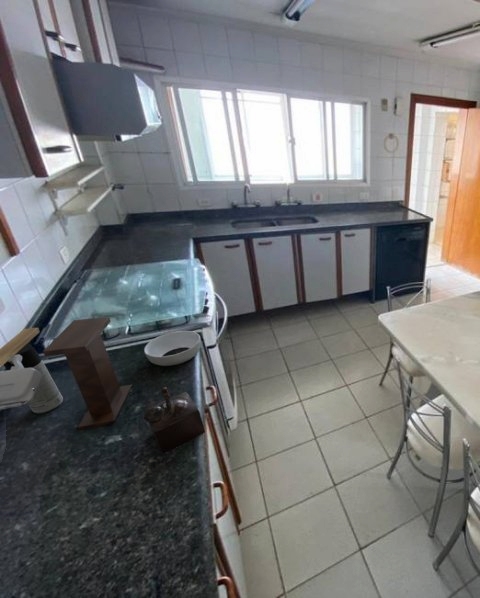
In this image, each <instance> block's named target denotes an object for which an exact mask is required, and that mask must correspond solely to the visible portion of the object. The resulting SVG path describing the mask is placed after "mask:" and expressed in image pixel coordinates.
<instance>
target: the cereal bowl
mask: <svg viewBox="0 0 480 598" xmlns="http://www.w3.org/2000/svg"><path fill="white" fill-rule="evenodd" d="M201 347H202V339H201V336H200V334H199V333H198V332H196V331H193V330H177V331H172V332H171V331H170V332H167V333H163V334H161V335H159V336H157V337H155V338H153V339H152V340H150V341H149V342H148V343H146V345H145V346H144V349H143V351H144V354H145V357H146V358H147V360H148V361H149V362H151V363H152V364H153V365H155V366H162V367H171V366H176V365H180V364H183V363H186V362H188V361H190V360H191V359H192V358H194V357H195V356H196V355H198V353H199V351H200V350H201ZM181 348H182V349H183V348H187V349H186V350H184V351H181V352H179V353H175V354H171V355H166V354H167V353H168V352H171V351H173V350H176V349H181ZM164 355H165V356H164Z"/></svg>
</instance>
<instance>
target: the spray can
mask: <svg viewBox="0 0 480 598" xmlns="http://www.w3.org/2000/svg"><path fill="white" fill-rule="evenodd" d="M18 354H19V355H21V356H22V361H21V364H22V365H23V367H24V368H34V369H36V370H37V371H39V372H40V373H41V375H42V377H41V380H40V383H39V385H38V387H37V389H36V391H35V394H34V397H33V399H32V400H31V401H30V402H28V403H26V404H27V405H28V407H29V408H30V410H31V412H33V413H34V414H44V413H47V412H50V411H52V410H55V409H56V408H58V407H59V406H61V405H62V404H63V401H64V397H63V395H62V394H61V392H60V389H59V388H58V386H57V385H56V382H55V381H54V379H53V378H52V377H53V376H52V375H51V374H50V372H49V370H48V367H47V366H46V365H45V363H44V361H43V359H42V357H41V356H40V354H39V352H37V351H36V349H35V347H33V346H32V345H31V344H30V343H29V342H28V343H27V344H26V345H25V346H24V347H23V348H22V349H20V350H19V351H18V352H17V353H16V354H15V355H18ZM13 366H14V367H15V365H14V364H12V363H11V362H8V361H7V362H6V363H5V364H4V365H3V367H4V368H5V371H7V370H11V367H13Z"/></svg>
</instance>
